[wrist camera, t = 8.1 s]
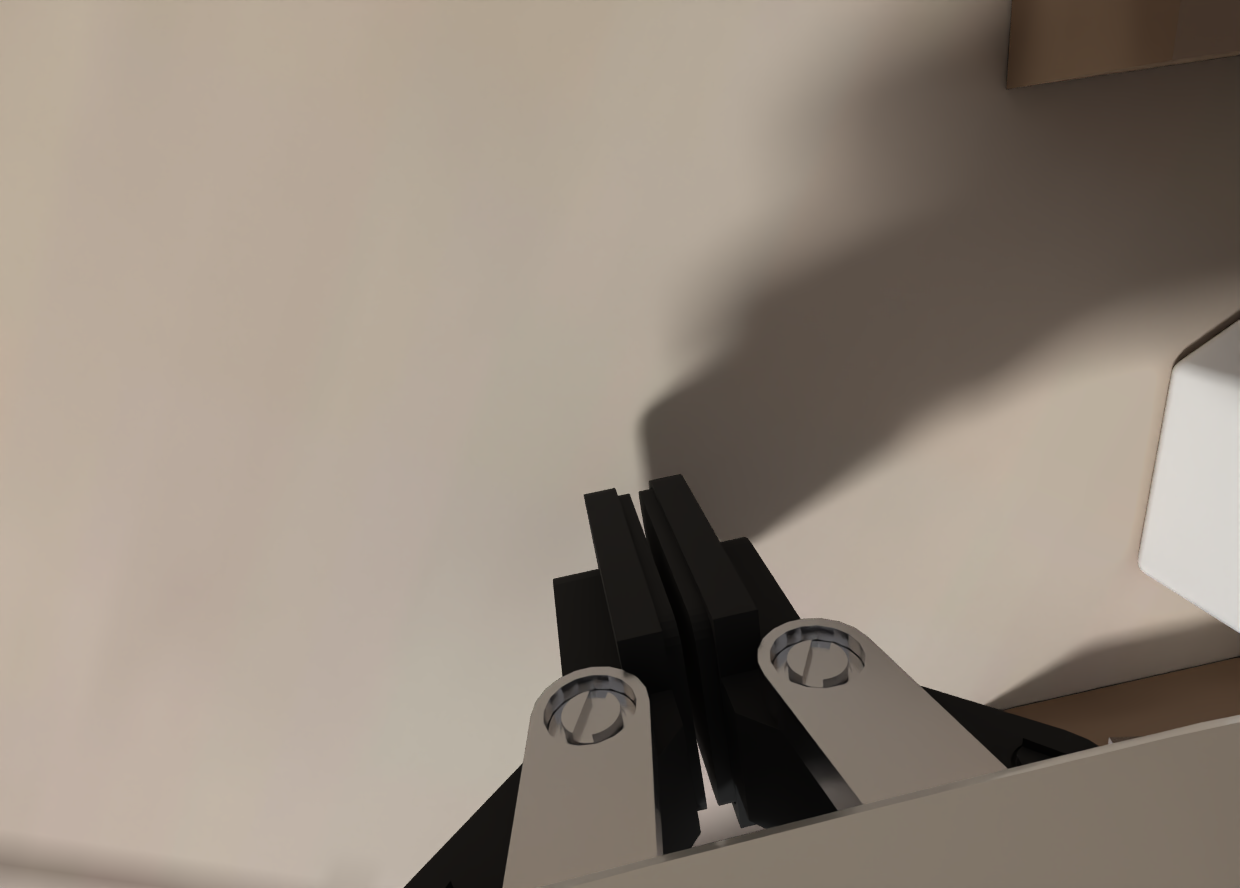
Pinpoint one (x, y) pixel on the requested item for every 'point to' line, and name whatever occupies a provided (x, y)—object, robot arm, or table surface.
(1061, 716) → the walnut bay
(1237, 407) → the jar
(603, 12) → the table surface
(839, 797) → the robot arm
